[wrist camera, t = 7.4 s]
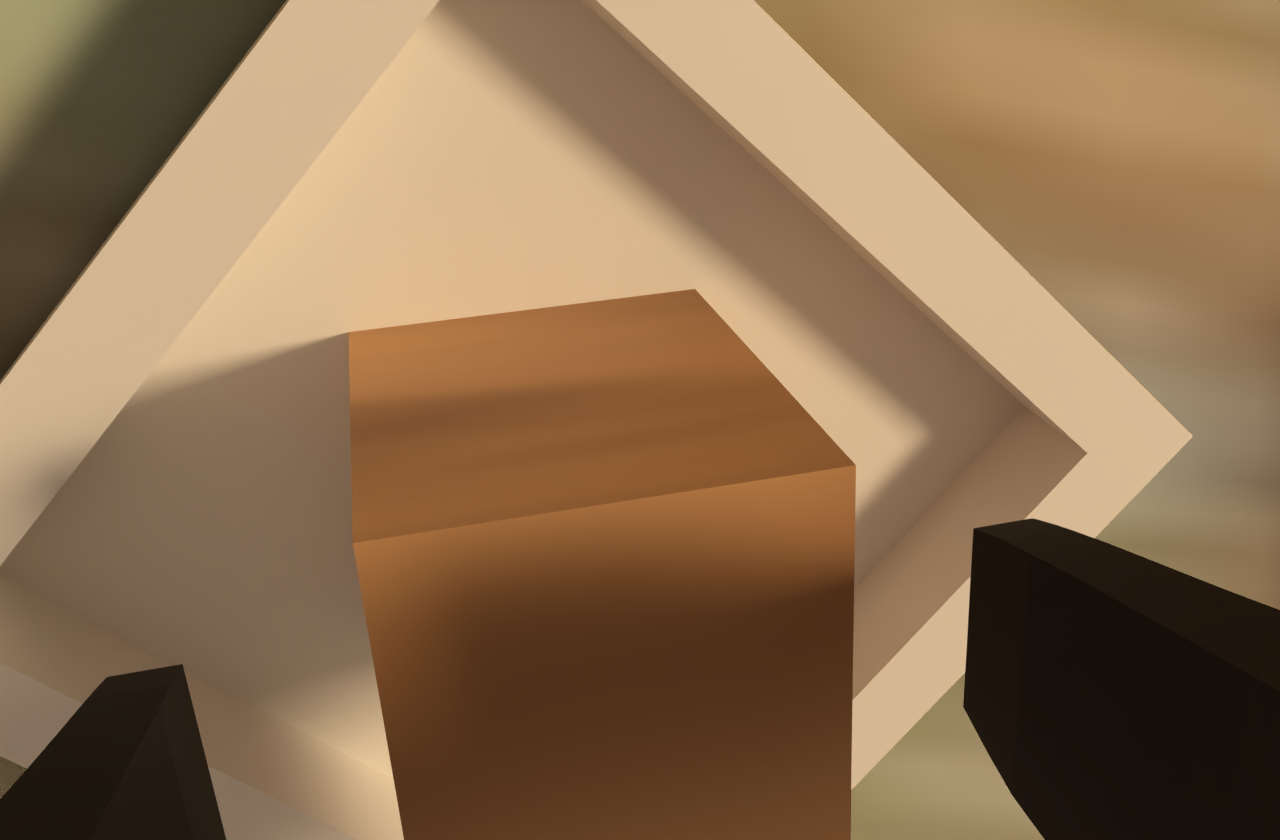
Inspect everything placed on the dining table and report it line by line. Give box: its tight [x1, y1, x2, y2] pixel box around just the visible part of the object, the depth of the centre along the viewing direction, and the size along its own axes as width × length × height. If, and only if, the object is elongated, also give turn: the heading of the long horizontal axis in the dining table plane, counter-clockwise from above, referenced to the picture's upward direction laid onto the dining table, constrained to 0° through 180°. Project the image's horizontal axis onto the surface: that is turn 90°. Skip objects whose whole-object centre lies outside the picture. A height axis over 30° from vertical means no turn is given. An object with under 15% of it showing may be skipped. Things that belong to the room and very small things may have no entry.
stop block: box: [349, 289, 856, 840], centre depth 13 cm, size 4×4×5 cm
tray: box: [0, 0, 1193, 840], centre depth 14 cm, size 11×11×2 cm
